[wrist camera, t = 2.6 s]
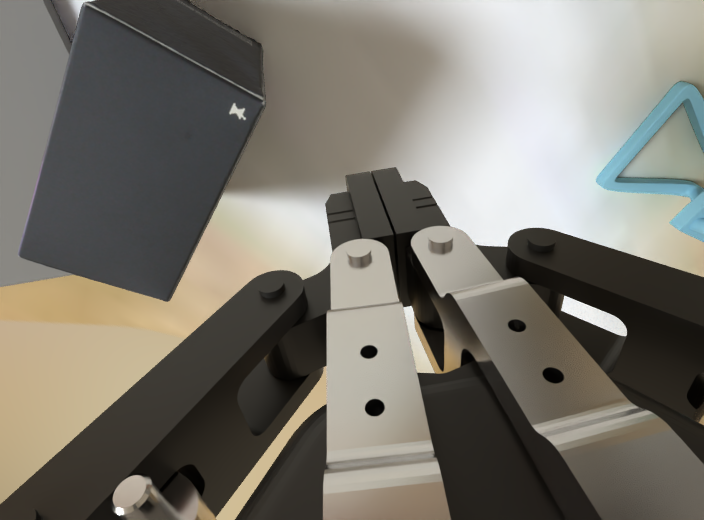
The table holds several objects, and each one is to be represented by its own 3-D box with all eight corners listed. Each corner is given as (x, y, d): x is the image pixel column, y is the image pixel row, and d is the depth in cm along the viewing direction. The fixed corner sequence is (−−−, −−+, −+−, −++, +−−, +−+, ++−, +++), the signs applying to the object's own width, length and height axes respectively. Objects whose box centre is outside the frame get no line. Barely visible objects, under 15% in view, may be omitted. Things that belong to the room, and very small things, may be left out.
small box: (142, -30, 21) (72, -14, 12) (266, 45, 24) (278, 98, 15) (84, 157, 25) (4, 261, 17) (195, 200, 28) (174, 308, 20)
